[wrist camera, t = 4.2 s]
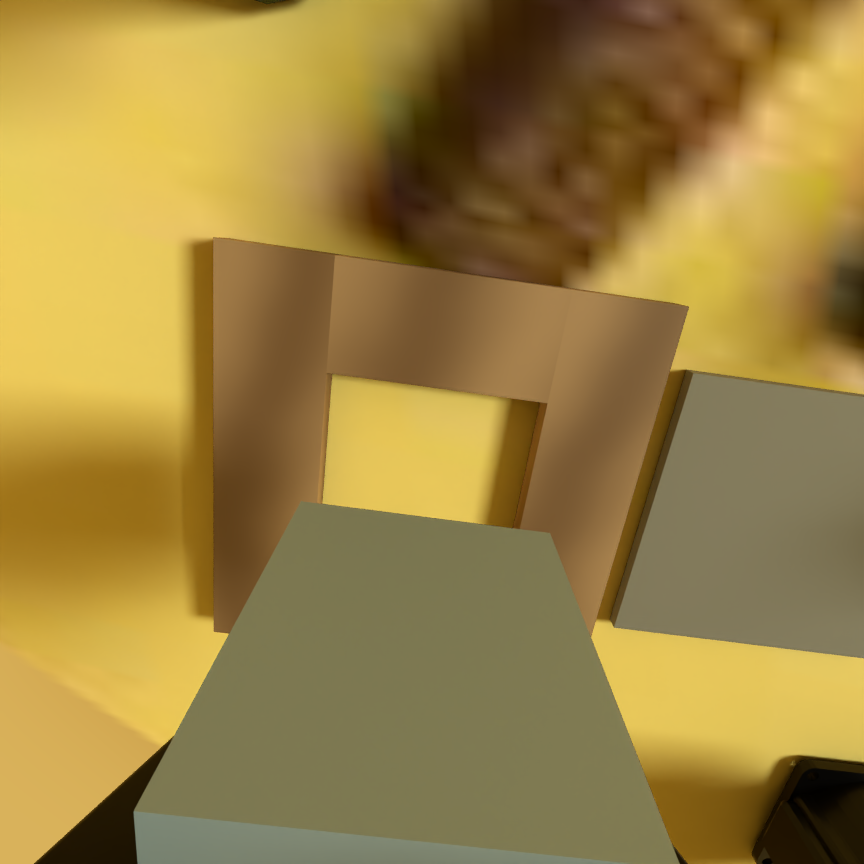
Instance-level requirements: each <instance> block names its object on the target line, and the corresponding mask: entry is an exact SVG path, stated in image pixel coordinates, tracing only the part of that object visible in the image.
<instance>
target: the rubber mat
mask: <svg viewBox="0 0 864 864" xmlns="http://www.w3.org/2000/svg"><path fill="white" fill-rule="evenodd" d="M610 620H611V622H612V624H613V626H614V628H622V629H630V630H638V631H647V632H655V633H663V634H671V635H679V636H687V637H695V638H703V639H712V640H720V641H728V642H736V643H744V644H752V645H760V646H769V647H777V648H785V649H793V650H801V651H809V652H817V653H825V654H834V655H842V656H850V657H858V658H864V395H862V394H855V393H848V392H841V391H834V390H827V389H819V388H812V387H805V386H798V385H791V384H784V383H777V382H770V381H763V380H756V379H749V378H742V377H735V376H727V375H720V374H713V373H706V372H699V371H692V370H686V373H685V376H684V379H683V383H682V386H681V389H680V393H679V396H678V399H677V402H676V406H675V409H674V412H673V415H672V419H671V422H670V425H669V428H668V432H667V435H666V438H665V441H664V445H663V448H662V451H661V454H660V458H659V461H658V464H657V467H656V471H655V474H654V477H653V480H652V484H651V487H650V490H649V493H648V497H647V500H646V503H645V506H644V510H643V513H642V516H641V519H640V523H639V526H638V529H637V532H636V536H635V539H634V542H633V545H632V549H631V552H630V555H629V558H628V562H627V565H626V568H625V571H624V575H623V578H622V581H621V584H620V588H619V591H618V594H617V597H616V601H615V604H614V607H613V610H612V614H611V617H610Z"/></svg>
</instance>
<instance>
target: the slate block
mask: <svg viewBox="0 0 864 864" xmlns="http://www.w3.org/2000/svg"><path fill="white" fill-rule="evenodd" d="M134 824H135V837H136V850H137V862H138V864H680V863H679V861H678V858H677V856H676V853H675V851H674V848H673V846H672V843H671V840H670V838H669V835H668V833H667V830H666V828H665V825H664V823H663V820H662V817H661V815H660V812H659V810H658V807H657V805H656V802H655V800H654V797H653V795H652V792H651V789H650V787H649V784H648V782H647V779H646V777H645V774H644V772H643V769H642V766H641V764H640V761H639V759H638V756H637V754H636V751H635V749H634V746H633V744H632V741H631V738H630V736H629V733H628V731H627V728H626V726H625V723H624V721H623V718H622V715H621V713H620V710H619V708H618V705H617V703H616V700H615V698H614V695H613V692H612V690H611V687H610V685H609V682H608V680H607V677H606V675H605V672H604V670H603V667H602V664H601V662H600V659H599V657H598V654H597V652H596V649H595V647H594V644H593V641H592V639H591V636H590V634H589V631H588V629H587V626H586V624H585V621H584V619H583V616H582V613H581V611H580V608H579V606H578V603H577V601H576V598H575V596H574V593H573V590H572V588H571V585H570V583H569V580H568V578H567V575H566V573H565V570H564V567H563V565H562V562H561V560H560V557H559V555H558V552H557V550H556V547H555V545H554V542H553V539H552V537H551V534H550V533H546V532H538V531H530V530H522V529H515V528H507V527H499V526H491V525H483V524H475V523H468V522H460V521H452V520H444V519H436V518H429V517H421V516H413V515H405V514H397V513H389V512H382V511H374V510H366V509H358V508H350V507H342V506H335V505H327V504H319V503H311V502H303V501H301V502H300V504H299V506H298V508H297V509H296V511H295V513H294V515H293V517H292V519H291V520H290V522H289V524H288V526H287V528H286V530H285V532H284V533H283V535H282V537H281V539H280V541H279V543H278V545H277V546H276V548H275V550H274V552H273V554H272V556H271V558H270V559H269V561H268V563H267V565H266V567H265V569H264V571H263V572H262V574H261V576H260V578H259V580H258V582H257V583H256V585H255V587H254V589H253V591H252V593H251V595H250V596H249V598H248V600H247V602H246V604H245V606H244V608H243V609H242V611H241V613H240V615H239V617H238V619H237V621H236V622H235V624H234V626H233V628H232V630H231V632H230V634H229V635H228V637H227V639H226V641H225V643H224V645H223V646H222V648H221V650H220V652H219V654H218V656H217V658H216V659H215V661H214V663H213V665H212V667H211V669H210V671H209V672H208V674H207V676H206V678H205V680H204V682H203V684H202V685H201V687H200V689H199V691H198V693H197V695H196V696H195V698H194V700H193V702H192V704H191V706H190V708H189V709H188V711H187V713H186V715H185V717H184V719H183V721H182V722H181V724H180V726H179V728H178V730H177V732H176V734H175V735H174V737H173V739H172V741H171V743H170V745H169V747H168V748H167V750H166V752H165V754H164V756H163V758H162V759H161V761H160V763H159V765H158V767H157V769H156V771H155V772H154V774H153V776H152V778H151V780H150V782H149V784H148V785H147V787H146V789H145V791H144V793H143V795H142V797H141V798H140V800H139V802H138V804H137V806H136V808H135V810H134Z"/></svg>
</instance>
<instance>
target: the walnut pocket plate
mask: <svg viewBox="0 0 864 864" xmlns="http://www.w3.org/2000/svg"><path fill="white" fill-rule="evenodd" d="M688 308H689V307H688V306H684V305H680V304H675V303H669V302H662V301H655V300H648V299H641V298H635V297H628V296H621V295H614V294H607V293H600V292H593V291H587V290H580V289H573V288H566V287H559V286H552V285H545V284H539V283H532V282H525V281H518V280H511V279H504V278H497V277H490V276H484V275H477V274H470V273H463V272H456V271H449V270H442V269H436V268H429V267H422V266H415V265H408V264H401V263H394V262H388V261H381V260H374V259H367V258H360V257H353V256H346V255H339V254H333V253H326V252H319V251H312V250H305V249H298V248H291V247H285V246H278V245H271V244H264V243H257V242H250V241H243V240H237V239H230V238H215V237H213V429H214V632H221V633H229V634H230V632H231V630H232V628H233V626H234V624H235V622H236V621H237V619H238V617H239V615H240V613H241V611H242V609H243V608H244V606H245V604H246V602H247V600H248V598H249V596H250V595H251V593H252V591H253V589H254V587H255V585H256V583H257V582H258V580H259V578H260V576H261V574H262V572H263V571H264V569H265V567H266V565H267V563H268V561H269V559H270V558H271V556H272V554H273V552H274V550H275V548H276V546H277V545H278V543H279V541H280V539H281V537H282V535H283V533H284V532H285V530H286V528H287V526H288V524H289V522H290V520H291V519H292V517H293V515H294V513H295V511H296V509H297V508H298V506H299V504H300V502H301V501H303V502H311V503H319V504H322V499H323V486H324V473H325V460H326V447H327V434H328V421H329V407H330V394H331V381H332V374H338V375H346V376H353V377H360V378H367V379H375V380H382V381H389V382H396V383H404V384H411V385H418V386H425V387H433V388H440V389H447V390H454V391H462V392H469V393H476V394H484V395H491V396H498V397H505V398H513V399H520V400H527V401H534V402H540V406H539V410H538V415H537V419H536V424H535V429H534V433H533V438H532V442H531V447H530V452H529V456H528V461H527V466H526V470H525V475H524V479H523V484H522V489H521V493H520V498H519V503H518V507H517V512H516V516H515V521H514V526H513V528H515V529H522V530H530V531H538V532H546V533H550V534H551V537H552V539H553V542H554V545H555V547H556V550H557V552H558V555H559V557H560V560H561V562H562V565H563V567H564V570H565V573H566V575H567V578H568V580H569V583H570V585H571V588H572V590H573V593H574V596H575V598H576V601H577V603H578V606H579V608H580V611H581V613H582V616H583V619H584V621H585V624H586V626H587V629H588V631H589V634H590V636H591V635H592V632H593V628H594V625H595V622H596V618H597V615H598V612H599V608H600V605H601V601H602V598H603V595H604V591H605V588H606V585H607V581H608V578H609V575H610V571H611V568H612V564H613V561H614V558H615V554H616V551H617V548H618V544H619V541H620V537H621V534H622V531H623V527H624V524H625V521H626V517H627V514H628V510H629V507H630V504H631V500H632V497H633V494H634V490H635V487H636V484H637V480H638V477H639V473H640V470H641V467H642V463H643V460H644V457H645V453H646V450H647V446H648V443H649V440H650V436H651V433H652V430H653V426H654V423H655V420H656V416H657V413H658V409H659V406H660V403H661V399H662V396H663V393H664V389H665V386H666V382H667V379H668V376H669V372H670V369H671V366H672V362H673V359H674V355H675V352H676V349H677V345H678V342H679V339H680V335H681V332H682V329H683V325H684V322H685V318H686V315H687V312H688Z"/></svg>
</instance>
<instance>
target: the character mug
mask: <svg viewBox="0 0 864 864" xmlns="http://www.w3.org/2000/svg"><path fill="white" fill-rule="evenodd" d="M256 1H259V2H262V3H265V4H270V3H275V2H279V1H284V0H256Z"/></svg>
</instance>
